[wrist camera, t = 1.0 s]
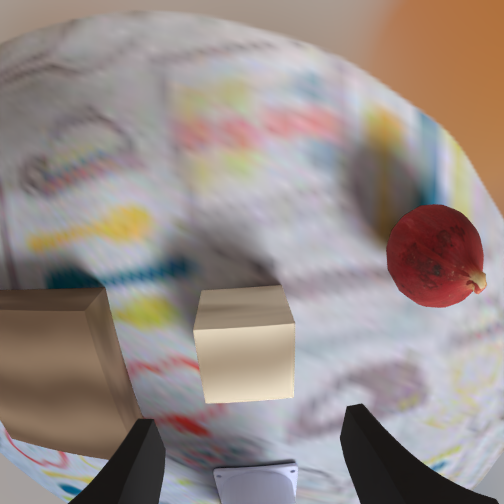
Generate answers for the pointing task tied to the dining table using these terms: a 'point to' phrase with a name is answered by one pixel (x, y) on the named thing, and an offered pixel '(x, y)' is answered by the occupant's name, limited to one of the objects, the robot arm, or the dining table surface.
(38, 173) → the dining table surface
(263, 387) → the beech cube
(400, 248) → the pomegranate
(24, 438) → the walnut block
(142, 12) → the dining table surface
